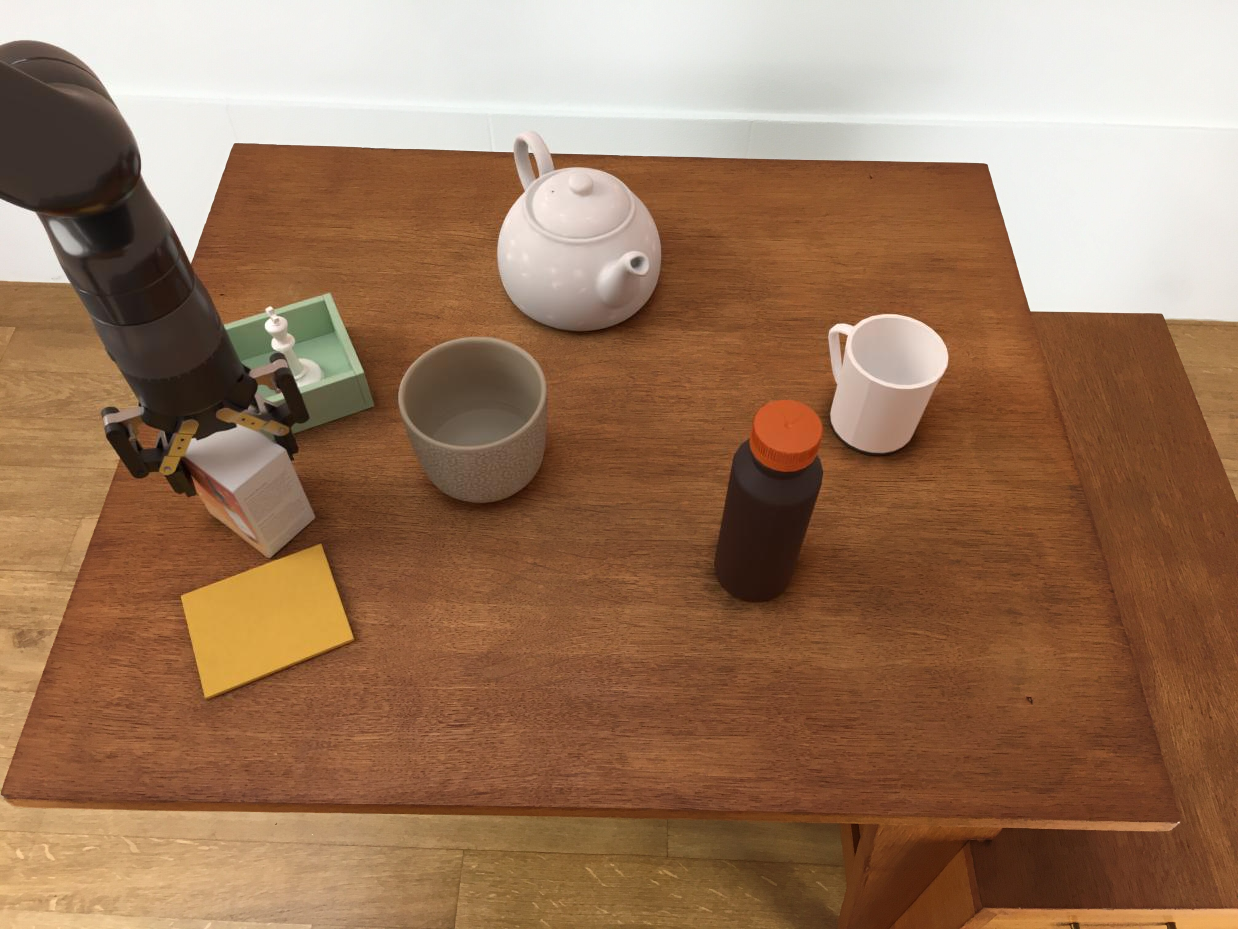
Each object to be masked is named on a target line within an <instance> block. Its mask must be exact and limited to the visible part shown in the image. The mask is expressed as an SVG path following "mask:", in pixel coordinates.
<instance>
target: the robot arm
mask: <svg viewBox="0 0 1238 929" xmlns="http://www.w3.org/2000/svg"><path fill="white" fill-rule="evenodd" d="M140 152H141V151H140V148H139V145H138V142H137V139H136V137H135V135H134V132H133V130H132V129H131V127H130V125H129V124H128V122H127V120H126V119H125V117H124V116H123V114H122V112H121V111H120V109H119V108H118V106H117V105H116V103H115V100H113V98H112V96H111V95H110V93H109V91H108V90H107V88H106V86H105V85H104V83H103V82H102V81H101V79H100V77H99V76H98V75H97V74H96V73H95V72H94V70H93V69H92V68H90V66H89V65H87V63H85V62H84V61H83V60H81V59H80V58H79V57H78V56H76V55H75V54H73V53H71V52H70V51H68V50H66V49H64V48H62V47H59V46H57V45H55V44H51V43H48V42H45V41H40V40H34V39H33V40H32V39H17V40H12V41H8V42H6V43H2V44H0V200H1V201H5V202H7V203H9V204H11V205H14V206H16V207H19V208H21V209H24V210H27V211H30V212H33V213H35V214H36V216H37V218H38V219H39V221H40V223H41V225H42V226H43V228H44V230H45V232H46V235H47V237H48V239H49V242H50V244H51V247H52V250H53V252H54V254H55V256H56V259H57V261H58V263H59V264H60V267H61V269H62V272H64V274H65V277H66V278H67V280H68V282H69V283H70V285H71V286H72V288H73V290H74V291H75V293H76V294H77V296H78V298H79V299H80V301H81V303H82V304H83V306H84V307H85V309H86V311H87V312H88V315H89V317H90V319H91V321H92V324H93V327H94V329H95V332H96V334H97V336H98V337H99V339H100V341H101V342H102V345H103V346H104V349H103V350H105V352H106V354H107V355H108V358H110V361H112V362H113V363H114V364H115V365H116V367H117V369H118V370H119V371H120V374H121V375H122V377H123V378H124V380H125V382H126V383H127V384H128V386H129V387H130V389H131V391H132V392H133V394H134V396H135V397H136V399H137V401H138V405H137V406H134V407H130V408H128V409H125V410H122V411H120V409H119V408H118V407H116V406H106V407H104V408H103V409H101V412H100V415H101V422H102V425H103V429H104V435H105V438H106V440H107V441H108V443H109V444H110V446H111V447H112V448H113V450H114V451H115V453H116V454H117V456H118V457H119V459H120V460H121V462H122V463H123V464H124V466H125V468H126V469H127V470H128V472H129V473H130V475H131V476H132V478H134V479H137V480H138V479H144V478H147V477H148V476H149V475H150V473H159V474H160V475H163V476H164V478H165V479H166V481H167V482H168V484H169V485H170V488H172V490H173V491H174V492H175V493H176V494H178V495H181V494H185V496H186V497H187V498H191V497H193V496H197V495H198V493H197V491H196V489H195V485H194V481H193V478H192V476H191V474H190V472H189V471H188V469H187V467H186V466H185V464H184V462H183V461H182V459H181V457H184V456H185V453H186V451H187V449H188V446H189V444H190V441H191V439H193V438H196V440H197V441H198V440H201V439H204V438H207V437H209V436H210V435H212V434H214V433H216V432H221V431H227V430H230V429H233V428H236V427H237V425H236V424H239V425H241V426H244V427H246V428H249V429H251V430H254V431H257V432H259V431H260V430H264V431H267V432H269V433H272V434H273V436H274V439H275V440H274V442H275V443H277V444H278V445H280V446H281V447H283V448H285V449H286V451H287V453H288V456H289V458H290V460H291V462H293V461H295V458H294V456H293V455H295V454H298V453H299V446H298V443H297V439H296V437H295V433H294V434H293V432H292V430H291V427H292V426H293V425H294V424H295V423H298V424H302V423H305V422H307V421H308V420H309V418H310V417H309V414H308V411H307V408H306V406H305V403H304V400H303V398H302V395H301V393H300V390H299V388H298V385H297V383H296V381H295V378H294V376H293V373H292V371H291V369H290V366H289V364H288V362H287V359H286V357H285V355H284V354H283V353H274V354H272V355H271V356H270V358H269V360H270V363H271V364H268V365H264V366H261V367H258V368H255V369H252V370H251V369H250V368H249V367H247V366H245V365H244V364H243V363H242V362H241V361H240V359H239V357H238V355H237V353H236V350H235V348H234V346H233V344H232V342H231V340H230V338H229V335H228V333H227V331H226V329H225V327H224V325H225V324H224V323H223V320H222V317H221V316H220V313H219V312H218V309H217V307H216V306H215V303H214V301H213V299H212V297H211V295H210V293H209V291H208V289H207V288H206V286H205V284H204V283H203V282H202V280H201V279H200V278H199V275H198V274H197V273H196V271H195V269H194V268H193V265H192V263H191V261H190V259H189V257H188V255H187V252H186V250H185V248H184V246H183V244H182V242H181V239H180V237H179V236H178V234H177V232H176V230H175V228H174V225H172V223H171V220H169V218H168V217H167V215H166V213H165V212H164V210H163V209H162V207H161V206H160V204H159V202H157V200H156V199H155V197H154V196H153V194H152V192H151V190H150V189H149V187H148V185H147V184H146V181H145V179H144V178H143V175H142V159H141V158H142V156H141V153H140ZM258 385H266V386H267V387H268V388H269V389H270V390H274V391H275V393H277V394H279V393H281V392H282V394H283V396H284V398H285V401H286V402H284V403H283V404H281V405H278V404H276V403H273V402H271V401H269V400H266V399H264V398H263V397H262V396H261V395H260V394H259V393H258V392H257V389H258ZM142 424H145V425H146V426H147V427H149V428H153V429H155V430H158V435H157V437H156V440H155V442H154V445H153V447H152V448H151V447H150V448H144V447H143V445H142V444H141V442H140V440H139V439H138V438H137V437H138V436H139V434H140V428H139V427H140V426H141V425H142Z"/></svg>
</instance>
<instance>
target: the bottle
mask: <svg viewBox="0 0 1238 929" xmlns="http://www.w3.org/2000/svg"><path fill="white" fill-rule="evenodd" d="M823 435H824V425H823V422H822V420H821V418H820V416H819V415H818V413H816V411H814V409H812V408H811V407H809V406H808V405H807V404H805V403H802V402H799V401H798V400H797V401H796V400H792V399H776V400H773V401H770V402H767V403H766V404H764V405H762V406H761V407H760V408H759V409H758V410H757V411H756V413H755V415H754V417H753V419H752V425H751V429H750V437H749V438H748V439H747V440H745V441H744V442H741V444H740V445H739V446H738V448H737V449H736V451H735V453H734V454H733V457H732V462H731V467H730V473H729V478H728V484H727V489H726V494H725V500H724V506H723V510H722V517H721V521H720V527H719V534H718V539H717V544H716V549H715V555H714V560H713V565H714V572H715V575H716V577H717V580H718V581H719V583H720V585H721V586H722V587H723V588H724V590H726V591H727V592H728V593H729V594H732V595H733V596H735V597H737V598H738V599H740V600H745V601H748V602H765V601H768V600H771V599H773V598H776V597H777V596H778V595H780V594H781V593H782V592H783V591H785V590H786V589H787V588H788V586H789V584H790V582H791V581H792V578H793V575H794V572H795V569H796V566H797V562H798V559H799V557H800V553H801V550H802V548H803V544H804V541H805V537H806V534H807V531H808V528H809V525H810V522H811V519H812V516H813V513H814V510H815V508H816V503H817V500H818V497H819V494H820V491H821V488H822V483H823V477H824V469H823V464H822V460H821V458H820V457H819V455H818V452H819V449H820V446H821V442H822V439H823V437H824V436H823Z"/></svg>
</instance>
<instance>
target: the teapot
mask: <svg viewBox="0 0 1238 929" xmlns="http://www.w3.org/2000/svg"><path fill="white" fill-rule="evenodd" d="M529 149H530V150H531V152H532V154H533V156H534V159H535V161H536V165H537V170H538V178H536V175H535V173H534V170H533V168H532V163H531V160H530V153H529ZM513 158H514V163H515V167H516V171H517V174H518V177H519V180H520V183H521V185H522V188H523V191H524V192H523V193H522V194H521V195H520V196H519V197H518V199H517V200H516V201H515V202H514V203H513V204H512V206H511V208H510V209H509V211H508V212H507V214H506V215H505V218H504V220H503V221H502V222H503V223H502V224H501V228H500V232H499V235H498V241H497V250H496V256H497V267H498V273H499V277H500V280H501V283H502V285H503V288H504V289H505V292H506V294H507V296H508V297H509V299H510V301H511V302H512V303H513V304H514V305H515V306H516V308H518V310H520V311H521V312H522V313H523V314H525V315H526V316H527V317H528V318H530V319H532V320H534V321H536V322H538V323H540V324H542V325H545V326H547V327H551V328H554V329H557V330H562V331H571V332H588V331H589V332H591V331H597V330H603V329H607V328H609V327H613V326H616V325H618V324H620V323H622V322H624V321H626V320H628V319H629V318H631V317H632V316H634V315H635V314H636V313H637V312H638V311H639V310H641V308H642V307H643V306H644V305H645V304H646V303H647V302H648V301H649V299H651V296H652V295H653V293H654V291H655V288H656V286H657V284H658V280H659V276H660V273H661V265H662V245H661V244H662V243H661V240H660V238H661V237H660V235H659V231H658V228H657V225H656V223H655V220H654V218H653V216H652V214H651V213H650V211H649V209H648V208H647V206H646V205H645V204H644V202H642V200H641V199H640V198H639V197H638V196H637V195H636V194H635V193H634V192H633V191H631V189H630V188H629V187H628V186H627V185H626V184H625V183H624V182H623V181H621V180H620V179H619V178H618V177H616V176H615V175H613V174H611V173H608V172H605V171H603V170H599V169H595V168H590V167H579V166H577V167H576V166H575V167H565V168H559V169H556V170H555V167H554V166H555V165H554V163H553V159H552V155H551V153H550V149H549V148H548V146H547V144H546V143H545V141H544V139H543V138H542V136H540V134H539V133H538V132H536V131H534V130H526V131H523V132H521V133H518V134H517V136H515V139H514V142H513Z"/></svg>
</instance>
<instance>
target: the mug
mask: <svg viewBox="0 0 1238 929" xmlns="http://www.w3.org/2000/svg"><path fill="white" fill-rule="evenodd" d="M840 334H843V335H846V336H847V338H846V341H845V348H844V354H843V360H842V354H841V353H842V352H841V342H840ZM827 340H828V346H829V348H828V349H829V356H830V364H831V370H832V375H833V378H834V381H835V383H836V388H835V393H834V395H833V401H832V404H831V407H830V412H829V423H830V426H831V428H832V430H833V433H834V434H835V436H836V437H837V439H839V440H840V441H841V443H843V444H844V445H845V446H846V447H848V448H849V449H852V450H854V451H856V452H859V453H861V454H865V455H869V456H885V455H891V454H893V453H895V452H898V451H900V450H902V449H903V448H905V447H906V446H908V444H909V443H910V441H911V440H912V437H913V436H914V434H915V431H916V429H917V427H918V425H919V423H920V421H921V419H922V417H923V414H924V413H925V410H926V408H927V406H928V403H929V401H930V399H931V397H932V395H933V392H934V391H935V389H936V387H937V385H938V384H939V382H940V380H941V379H942V377H943V375H944V374H945V372H946V370H947V368H948V363H949V353H948V350H947V346H946V344H945V343H944V341H943V339H942V336H940V335H939V334H938V333H937V332H936V331H935V330H934V329H933V328H931V327H930V326H928V325H927V324H926V323H923V322H922V321H920V320H917V319H916V318H913V317H910V316H905V315H901V314H895V313H894V314H892V313H883V314H876V315H870V316H869V317H867V318H864V319H862V320H860V321H859V322H858V323H856V324H855V325H851V324H849V323H837V324H835V325H834V326H833V327H831V328H830V329H829V331H828V336H827Z"/></svg>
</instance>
